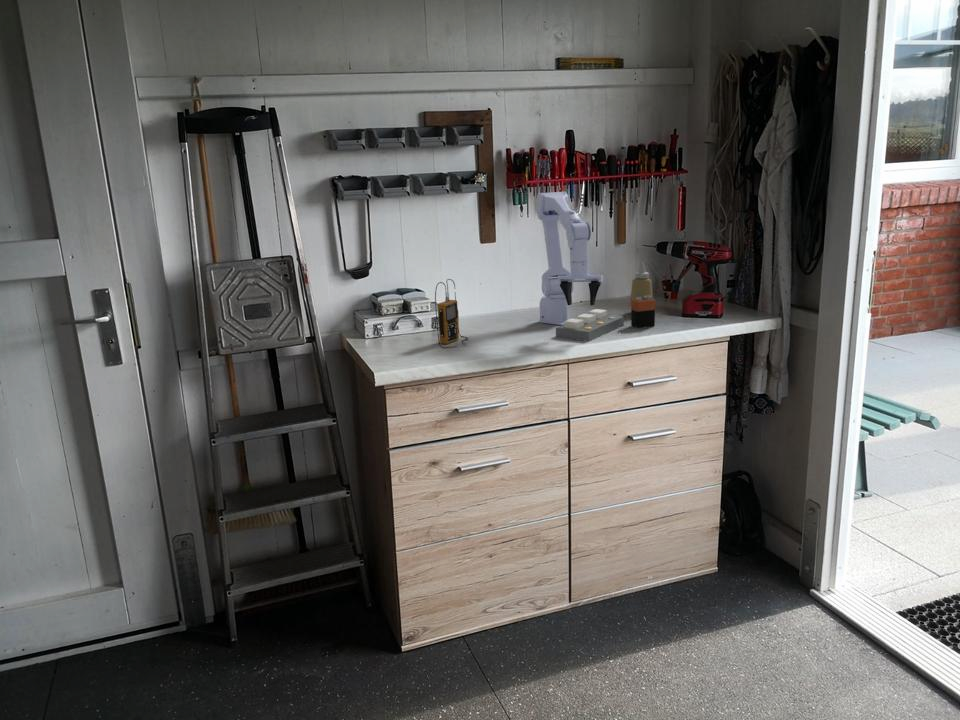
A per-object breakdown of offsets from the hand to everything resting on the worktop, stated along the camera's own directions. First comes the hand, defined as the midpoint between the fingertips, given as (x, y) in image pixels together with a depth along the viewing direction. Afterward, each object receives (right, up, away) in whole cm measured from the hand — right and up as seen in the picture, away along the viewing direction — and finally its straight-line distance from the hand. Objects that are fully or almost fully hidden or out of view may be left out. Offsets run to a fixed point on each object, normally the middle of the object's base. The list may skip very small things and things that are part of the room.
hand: (581, 304), depth 247 cm
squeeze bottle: (+26, -1, +32) cm, 41 cm away
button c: (+8, -4, +16) cm, 18 cm away
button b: (+3, -6, +10) cm, 12 cm away
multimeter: (-39, -12, +1) cm, 40 cm away
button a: (-2, -8, +3) cm, 9 cm away
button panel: (+4, -8, +9) cm, 13 cm away
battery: (+22, -6, +13) cm, 27 cm away
